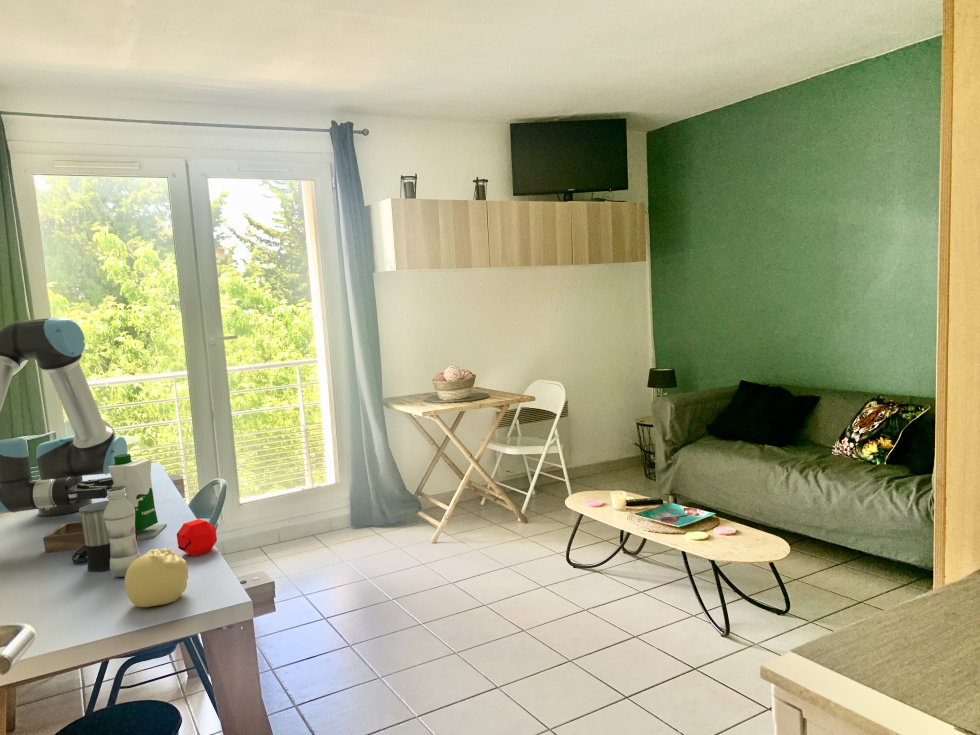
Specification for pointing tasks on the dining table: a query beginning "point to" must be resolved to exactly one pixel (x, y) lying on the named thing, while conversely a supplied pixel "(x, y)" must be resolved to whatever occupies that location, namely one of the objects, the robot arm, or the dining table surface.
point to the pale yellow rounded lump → (156, 578)
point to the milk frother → (95, 538)
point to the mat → (150, 531)
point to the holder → (65, 537)
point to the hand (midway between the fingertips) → (144, 482)
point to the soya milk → (142, 500)
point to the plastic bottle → (120, 531)
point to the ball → (196, 537)
